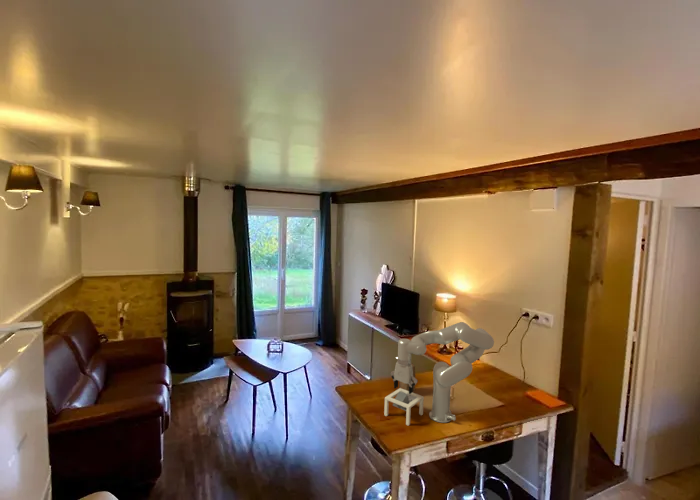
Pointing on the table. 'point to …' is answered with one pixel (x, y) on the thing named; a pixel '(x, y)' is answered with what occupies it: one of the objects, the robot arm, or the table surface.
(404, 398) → the stone
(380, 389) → the table surface
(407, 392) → the frame
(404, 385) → the block
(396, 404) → the trapdoor
